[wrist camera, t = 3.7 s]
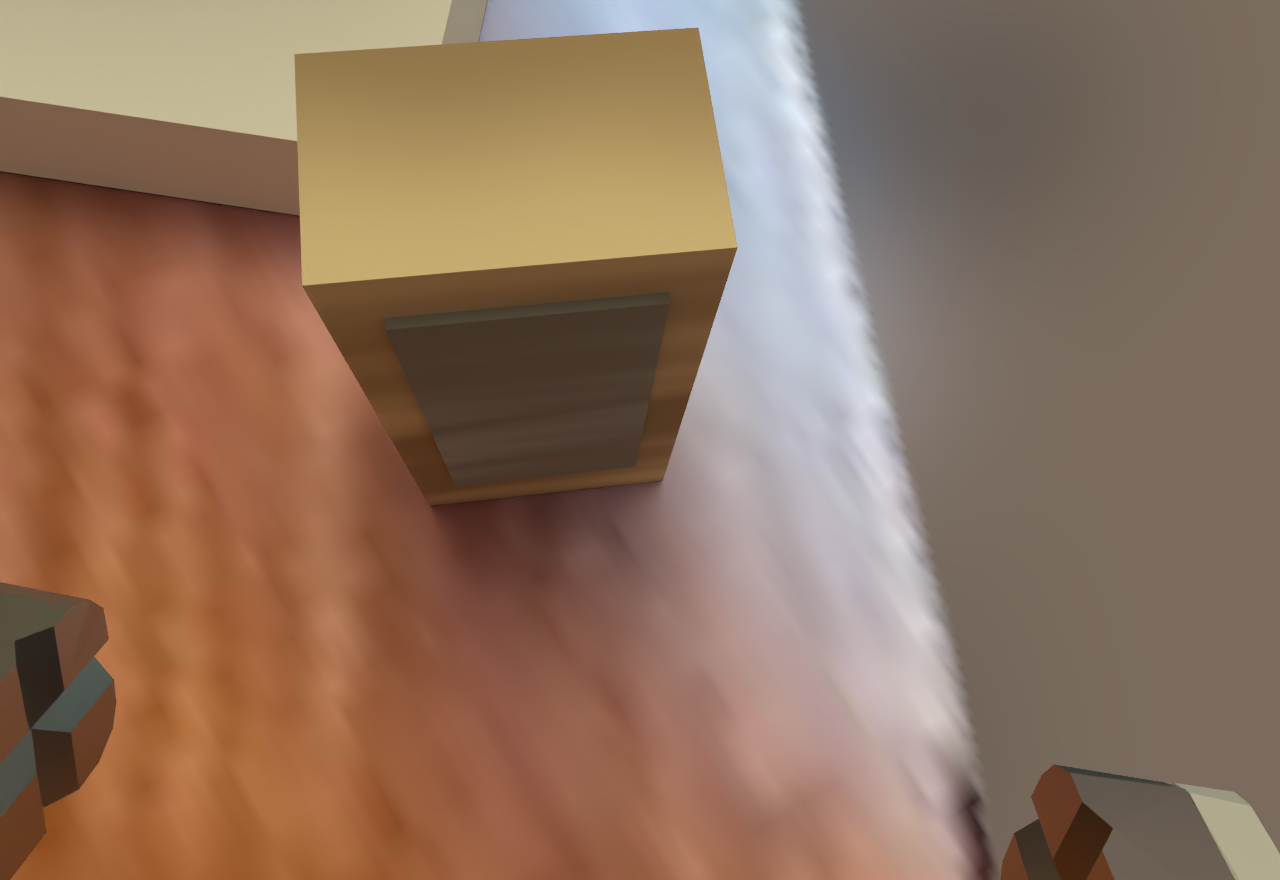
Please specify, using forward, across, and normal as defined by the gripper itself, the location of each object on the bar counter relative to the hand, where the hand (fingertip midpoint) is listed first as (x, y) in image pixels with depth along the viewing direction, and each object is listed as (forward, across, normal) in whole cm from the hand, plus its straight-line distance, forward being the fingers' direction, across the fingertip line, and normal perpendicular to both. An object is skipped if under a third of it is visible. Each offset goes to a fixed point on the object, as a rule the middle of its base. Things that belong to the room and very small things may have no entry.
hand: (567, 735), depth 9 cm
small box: (+12, +2, +3) cm, 13 cm away
